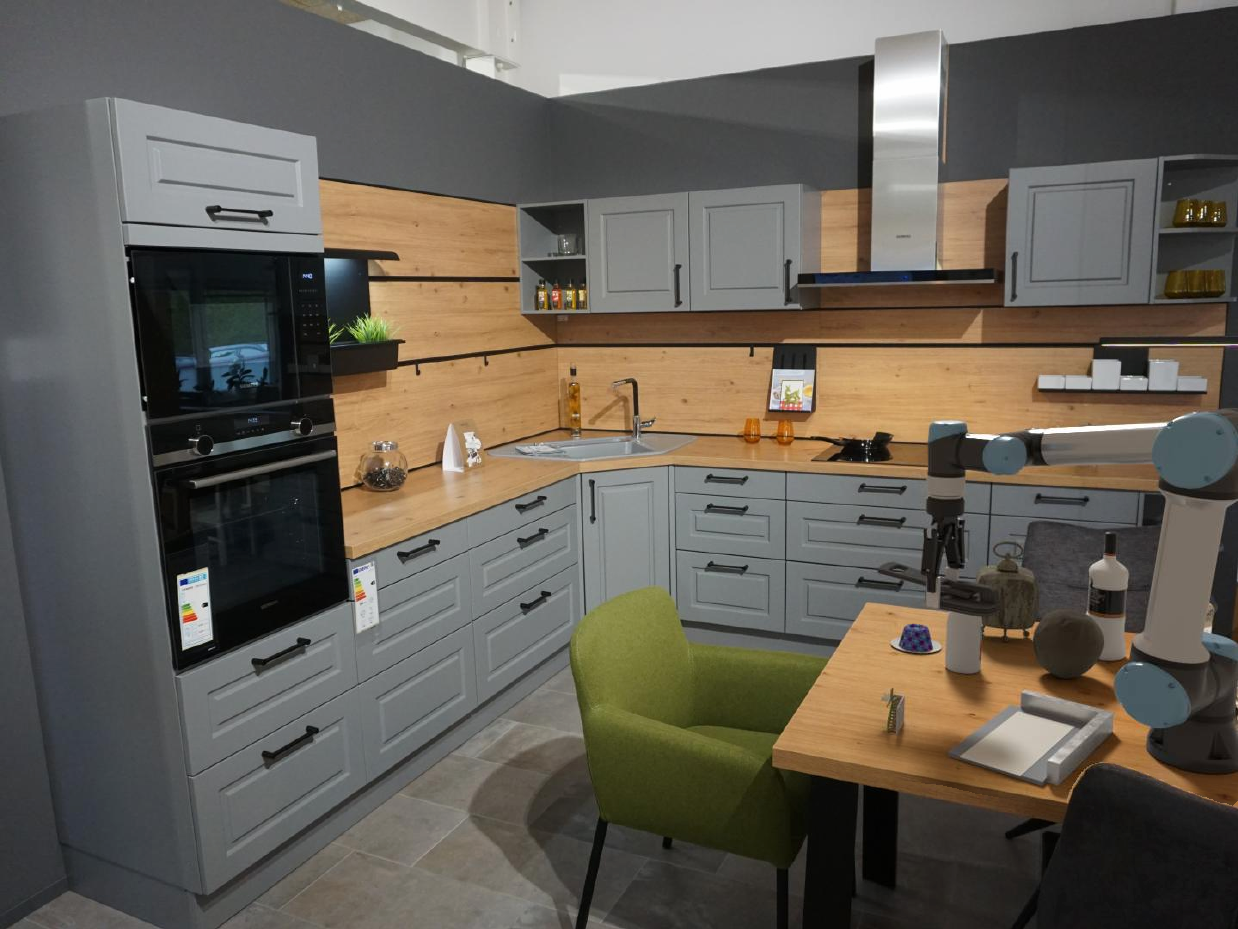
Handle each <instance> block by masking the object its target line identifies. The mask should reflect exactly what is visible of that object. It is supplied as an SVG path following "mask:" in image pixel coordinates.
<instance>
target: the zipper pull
mask: <svg viewBox="0 0 1238 929" xmlns="http://www.w3.org/2000/svg"><path fill="white" fill-rule="evenodd" d="M894 570H901V572H897V571H896V572H895V571H894ZM876 572H877V574H879V575H884V576H888V577H892V578H895V579H898V580H901V581H905V582H909V583H913V584H917V585H920V586H923V587H926V583H927V576H923V575H921V569H920V570H919V569H917V568H913V567H911V566H908V565H905V564H902V563H898V562H895V561H888V562H886V563H883V564H881V565H880V566H878V568H877V571H876ZM938 577H941V576H939V575H938ZM945 585H948V586H950V587H947V586H945ZM978 592H979V594H976V593H978ZM924 594H925V596H924V597H925V598H924V603H925V604H926V592H925V593H924ZM937 609H939V610H942V611H947V612H948V611H952V612H956V613H961V614H966V615H970V616H982V617H989V616H993V615H996V614H998V613H999V612H1000V598H999V595H998V591H997V589H996V588H994V587H993V586H990V585H984V584H979V583H975V582H971V581H965V580H959V581H956V582H955V581H951V580H948V579H945V577H941V584H940V608H937Z"/></svg>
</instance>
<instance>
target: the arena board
mask: <svg viewBox="0 0 1238 929" xmlns="http://www.w3.org/2000/svg"><path fill="white" fill-rule="evenodd" d="M1084 726H1085V724H1081V723H1077V722H1074V721H1070V720H1066V719H1063V718H1059V717H1055V716H1051V715H1048V714H1044V713H1040V712H1036V711H1033V710H1029V709H1025V708H1021V706H1017V705H1013V704H1010V705H1008V706H1007V707H1006V708H1004V709H1002V711H1000V712H999V713H998V714H996V715H995V716H993V717H992V718H991V719H990V720H988V721H987V722H985V723H984V724H983V725H982V726H980V727H979V728H977V730H975V731H974V732H972V733H971V734H970V735H969V736H967V737H965V739H962V741H960V742H959V743H957V745H955V746H954V747H952V748H951V749H950V750H948V751H947V757H950V758H952V759H956V760H959V761H963V762H965V763H969V764H972V765H975V766H977V767H981V768H984V769H988V770H990V771H992V772H993V771H994V772H997V773H999V774H1003V775H1006V776H1009V777H1011V778H1012V777H1013V778H1015V779H1018V780H1021V781H1025V782H1027V783H1031V784H1034V785H1038V786H1040V787H1043V786H1044V785H1045V784H1046V783H1047V782H1046V778H1047V760H1049V759H1050V758H1051V757H1052V756H1053V755H1054V754H1055V753H1056V752H1057V751H1058V750H1059V749H1060V748H1062V747H1063V746H1064V745H1065V744H1066V743H1067V742H1068V741H1069V740H1070V739H1071V738H1072V737H1073V736H1075V735H1076V734H1077V733H1078V732H1079V731H1080V730H1081V729H1082V728H1083V727H1084Z"/></svg>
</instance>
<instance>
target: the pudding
mask: <svg viewBox="0 0 1238 929" xmlns="http://www.w3.org/2000/svg"><path fill="white" fill-rule="evenodd" d="M890 645H891V646H893V648H896V649H897V650H900V651H903V652H907V653H914V654H915V653H916V654H928V653H929V654H930V653H934V652H937V651H940V650H941V649H942V646H943V645H941V643H940V642H938V641H937V640H935V639H932V637H931V631H930V628H929V627H928V626H926V625H924V624H921V623H920V624H917V623H912V624H911V623H909V624H906V625H904V627H903V629H902V633H901V635H900V637H895V638H893V639H892V640H891V641H890Z"/></svg>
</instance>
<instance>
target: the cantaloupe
mask: <svg viewBox="0 0 1238 929" xmlns="http://www.w3.org/2000/svg"><path fill="white" fill-rule="evenodd" d="M1103 648H1104V636H1103V633H1102V630H1101V629H1100V627H1099V626H1098V624H1097V623H1096V622H1095V621H1094V620H1093V619H1092V618H1091V617H1090V616H1089V615H1086V613H1084V612H1082V611H1077V610H1074V609H1066V608H1061V609H1059V608H1058V609H1055V610H1052V611H1050V612H1048V613H1046V614H1045V616H1044V617H1042V619H1041V620H1040V621H1039V622H1038V624H1037V626H1036V627H1035V629H1034V632H1033V637H1032V649H1033V654H1034V656H1035V658H1036V660H1037V663H1038V664H1039V665H1040V667H1041V668H1043V670H1045V671H1047V673H1050V674H1052V675H1054V676H1056V677H1057V678H1058V679H1059V678H1060V679H1067V680H1068V679H1072V678H1077V677H1080V676H1082V675H1084V674H1086V673H1087V672H1089V670H1091V669H1092V668H1093V667H1094V666H1095V665H1096V663H1097V662H1098V661H1099V660H1098V659H1099V657H1100V656H1101V653H1102V651H1103Z"/></svg>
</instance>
